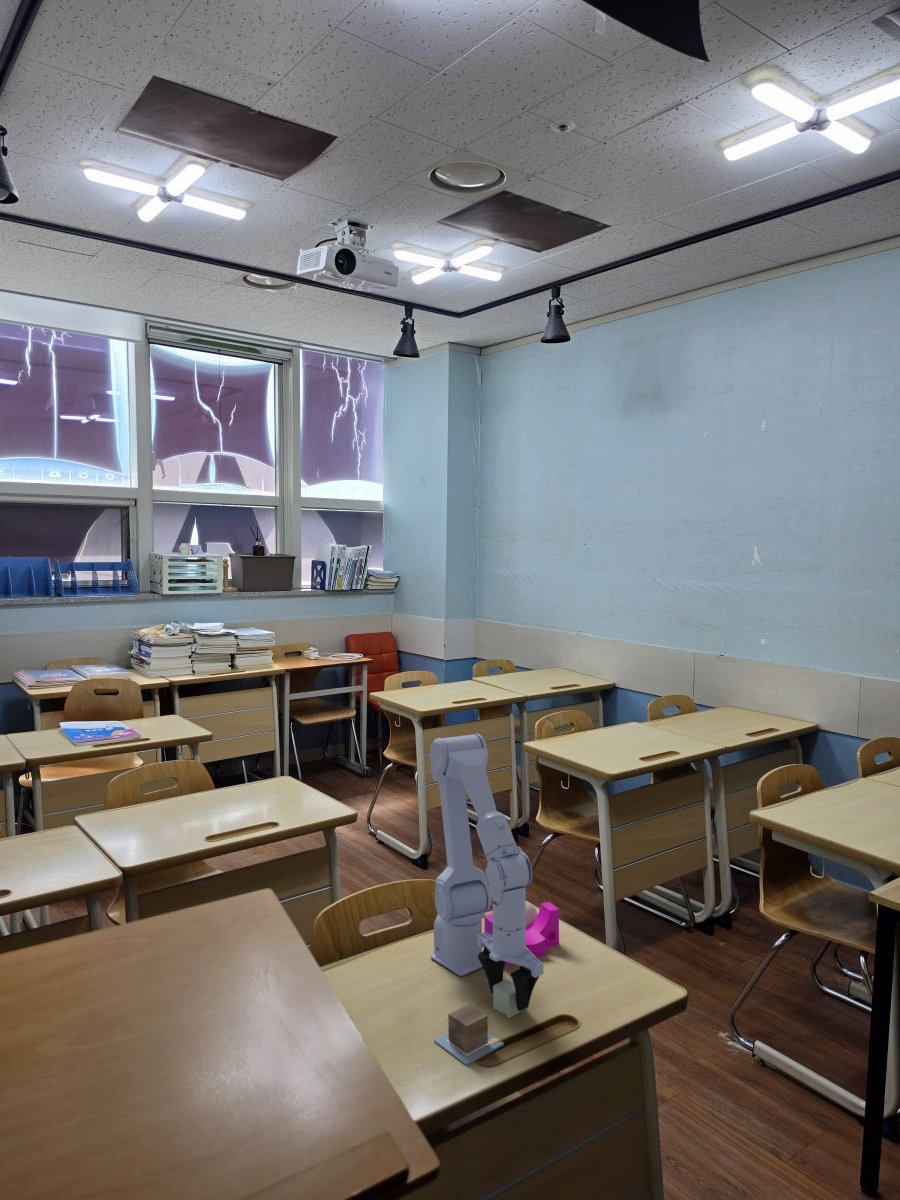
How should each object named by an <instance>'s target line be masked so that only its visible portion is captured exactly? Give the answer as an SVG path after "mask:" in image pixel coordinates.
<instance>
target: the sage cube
mask: <svg viewBox="0 0 900 1200" xmlns="http://www.w3.org/2000/svg"><path fill="white" fill-rule="evenodd" d="M492 1001H493V1003H492V1006H493V1007H494V1008H493V1009H495V1010H496V1009H497V1011H498V1010H499V1011H498V1012H500V1011H501V1012H502V1013H501V1012H500V1013H501V1014H503V1013H504V1014H506V1015H507V1016H506V1015H505V1016H506V1017H508V1016H509V1017H508V1018H511V1017H513V1016H515V1015H517V1014H518V1013H520V1012H522V1011H524V1010H522V1011H519V1010H517V1005H516V992H515V986H514V983H513V980H512V977H508V978H506V979H503V981H502V982H500V983H498V984H495V985H493V994H492ZM504 1014H503V1015H504ZM514 1014H515V1015H514ZM512 1015H513V1016H512ZM510 1016H511V1017H510Z"/></svg>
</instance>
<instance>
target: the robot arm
mask: <svg viewBox="0 0 900 1200" xmlns="http://www.w3.org/2000/svg"><path fill="white" fill-rule="evenodd" d="M429 760H430V761H429V762H430V772H431V776H432V777H431V778H432V780H433V781H436V782H438V786H439V787H438V788H439V796H440V804H441V814H442V815H441V816H442V825H443V834H444V844H445V851H446V861H447V867H446V868H444V870H443V871H442V872H441V873H440V875H438V876H437V878H436V879H435V893H434V905H435V910H436V913H437V915H436V918H435V920H434V923H433V954H431V955H430V958H431V960H433V961H435V962H437V963H438V964H440V965H442V966H443V967H445V968H447V969H449V970H450V971H451V972H453V973H455V974H456V975H458V976H460V977H464V976H466V975H468V974H471V973H472V972H474V971H477V970H479V969H480V968H482V969H483V970H484V973H485V975H486V979H487V984H488V986H489V991H490V994H492V995H493V985H495V984H498V983H500V982H502V981H504V969H505V965H504V964H505V962H509V963H512V964H513V965H517V966H518V967H519V969H517V970H514V971H513V972H512V971H511V972H510V978H511V979H512V980H513V983H514V986H515V992H516V1005H517V1010H519V1011H521V1012H522V1010H523V1011H524V1009H525V1010H527V1009H528V1008H529V1005H530V1003H531V1002H530V1001H531V998H532V994H533V991H534V988H535V985H536V984H537V981H538V980H539V977H541V976H542V975H543V974H544V962H542V960H539V958H538V957H535V956H534V955H533V954H532V953H531V951H530V950H529V949H528V948H527V947H526V901H527V899H526V897H527V896H526V891H527V890H526V887H528V886H530V884H532V882H533V881H532V880H533V868H532V864H531V862H530V858H529V857H528V855H527V854H526V852H524V851H523V850H522V848H521V847H520V846H518V845H517V843H516V841H515V839H514V836H513V832H512V830H511V827H510V825H509V822H508V820H507V817H506V816H505V815H504V814H502V813H500V812H498V810H497V806H496V804H495V803H496V802H495V799H494V795H493V791H492V788H491V786H490V782H489V779H488V775H487V770H486V768H487V764H488V761H489V752H488V746H487V742H486V741H485V739H484V737H483V736H482V735H481V734H480V733H473V734H468V735H467V734H465V735H459V736H452V737H451V736H450V737H442V738H441V737H438V738H434V740H433V742H432V743H431V746H430V749H429ZM466 794H467V795H468V798H469V800H470V802H471V804H472V806H473V809H474V811H475V814H476V815H477V817H478V821H477V823H476V825H475V830H476V833H477V836H478V838H479V840H480V844H481V846H482V850H483V852H484V855H485V858H486V861H487V864H486V868H485V872H484V871H483V870H482V869H480V868H478V867H477V866H475V865H474V860H473V848H472V840H471V832H470V823H469V822H470V821H469V815H468V814H469V813H468V804H467V796H466ZM491 905H492V914H493V935H491V934H489V933H486V932H482V930H483V928H482V927H483V925H482V924H483V923H482V919H484V918H485V916H486V913H487V912H488V911H489V910H490V908H491Z"/></svg>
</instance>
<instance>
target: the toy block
mask: <svg viewBox="0 0 900 1200" xmlns="http://www.w3.org/2000/svg"><path fill="white" fill-rule="evenodd" d="M537 914H538V915H537V917H536V918H535V920H534V921H533V922H532V923H531V924H530V925H529V926H528V927H526V947H527V948H528V949H529V950H530V951H531V953H532V954H533V955H534V956H535V957H536V958H540V957H543V956H544V957H545V956H546V952H547V951H546V949H547V948H551V947H554V946H559V945H560V909H559V908H558V907H557V906H556V905H554V904H553V903H551V902H550V901H547V902H543V903H540V906H539V910H538V912H537ZM483 919H484V921H483V922H484V923H483V924H484V929H483V930H484V932H486V933H489V934H491V935H493V913H492V914H487V915H485V918H483ZM484 932H483V933H484ZM510 964H512V963H509V962H505V964H504V966H508V965H510Z"/></svg>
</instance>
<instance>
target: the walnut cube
mask: <svg viewBox="0 0 900 1200" xmlns="http://www.w3.org/2000/svg"><path fill="white" fill-rule="evenodd" d="M447 1016H448V1019H447V1020H448V1029H447V1031H448V1032H447V1033H449V1041H450V1042H451V1043H452V1044H454V1045H455V1046H456V1047H458V1048H459V1049H461V1050H462V1051H463V1052H465V1053H466V1054H468V1053H470V1052H471V1051H473V1050H475V1049H477V1048H479V1047H481V1046H483V1045H484V1044H486V1043H488V1033H489V1030H488V1029H489V1026H488V1025H489V1019H488V1017H489V1015H488V1014H487V1013H485V1012H483V1011H482V1010H480V1009H478V1008H477V1007H475V1006H474V1005H472V1004H471V1003H467V1004H465V1005H463V1006H462V1007H459V1008H457V1009H455V1010H453V1011H451V1012H449V1013H448V1015H447Z"/></svg>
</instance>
